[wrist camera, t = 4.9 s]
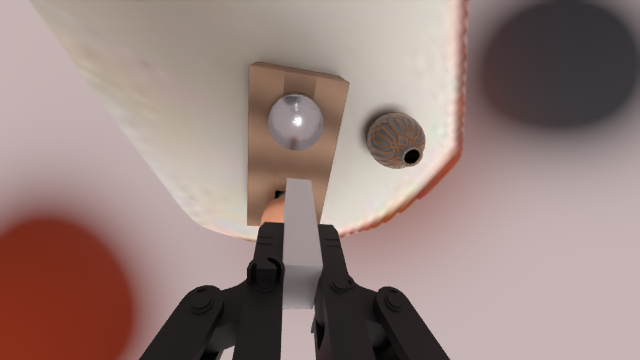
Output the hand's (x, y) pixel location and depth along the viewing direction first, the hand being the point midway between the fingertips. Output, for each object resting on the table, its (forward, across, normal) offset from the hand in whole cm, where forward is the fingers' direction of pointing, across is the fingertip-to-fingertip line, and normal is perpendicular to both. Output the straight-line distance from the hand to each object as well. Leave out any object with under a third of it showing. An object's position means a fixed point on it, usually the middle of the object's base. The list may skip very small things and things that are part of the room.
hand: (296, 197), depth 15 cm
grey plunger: (+17, 0, +2) cm, 17 cm away
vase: (+19, +13, 0) cm, 23 cm away
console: (+19, 0, -4) cm, 19 cm away
